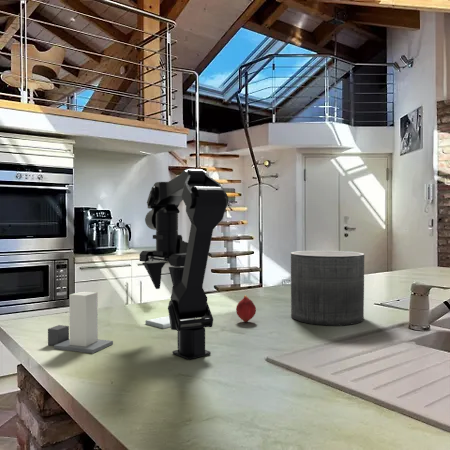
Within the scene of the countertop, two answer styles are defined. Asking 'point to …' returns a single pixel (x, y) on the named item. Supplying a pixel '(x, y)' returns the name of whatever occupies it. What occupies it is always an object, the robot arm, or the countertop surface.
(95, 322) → the brick
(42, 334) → the countertop surface
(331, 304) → the planter
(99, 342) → the charging dock
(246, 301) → the onion
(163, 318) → the external hard drive
